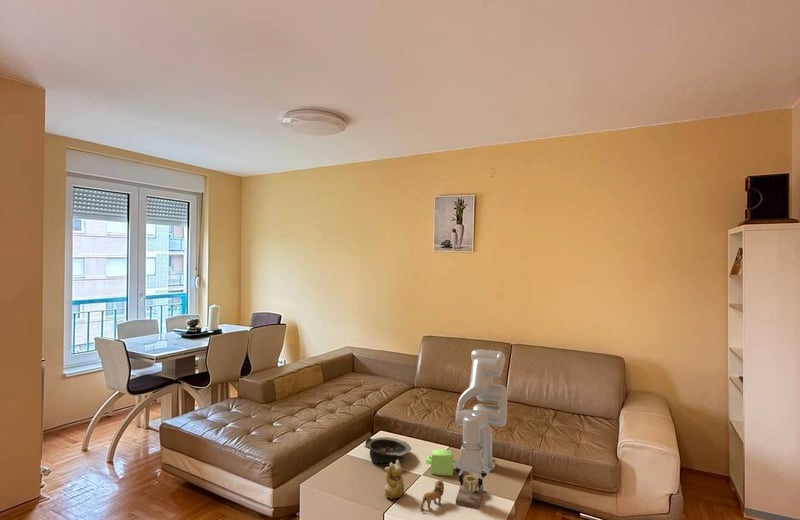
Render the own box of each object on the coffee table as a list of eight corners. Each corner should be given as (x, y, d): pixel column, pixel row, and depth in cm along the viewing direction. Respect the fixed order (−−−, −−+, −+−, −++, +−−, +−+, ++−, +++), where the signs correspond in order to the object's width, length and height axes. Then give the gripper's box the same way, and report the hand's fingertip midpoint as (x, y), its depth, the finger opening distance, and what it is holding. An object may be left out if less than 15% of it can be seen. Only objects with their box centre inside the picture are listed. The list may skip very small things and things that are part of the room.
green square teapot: (461, 468, 217) (462, 449, 217) (461, 477, 207) (462, 457, 208) (426, 465, 219) (427, 446, 219) (425, 473, 209) (426, 454, 210)
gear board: (461, 486, 198) (461, 473, 198) (482, 490, 195) (483, 477, 195) (455, 504, 184) (455, 490, 184) (478, 508, 181) (478, 494, 181)
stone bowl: (357, 465, 217) (358, 447, 218) (374, 448, 241) (375, 431, 241) (403, 472, 210) (404, 453, 210) (416, 454, 234) (416, 436, 234)
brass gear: (463, 481, 190) (463, 473, 190) (480, 484, 187) (480, 476, 187) (460, 489, 183) (461, 481, 183) (478, 492, 180) (478, 484, 180)
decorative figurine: (395, 488, 196) (395, 456, 196) (409, 494, 191) (409, 461, 191) (381, 497, 189) (381, 463, 189) (395, 504, 184) (395, 469, 183)
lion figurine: (436, 496, 190) (437, 476, 190) (446, 501, 187) (447, 480, 186) (417, 511, 179) (417, 490, 179) (427, 516, 175) (427, 494, 175)
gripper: (492, 444, 186) (491, 484, 186) (453, 438, 191) (452, 477, 191) (490, 451, 179) (490, 493, 179) (450, 445, 184) (449, 485, 184)
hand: (470, 484), depth 185 cm, fingers closed on brass gear, 7 cm apart
